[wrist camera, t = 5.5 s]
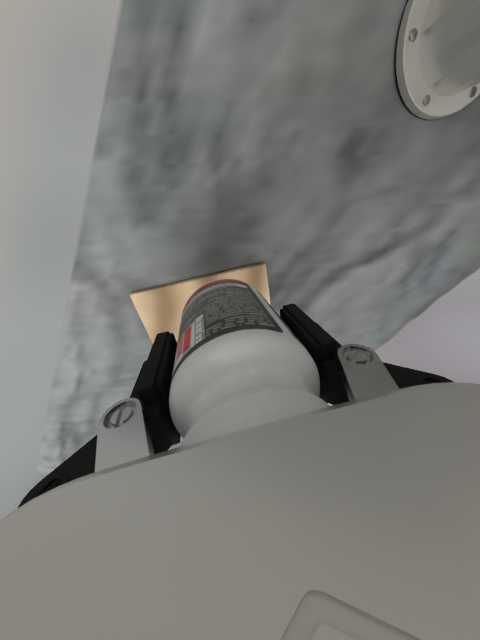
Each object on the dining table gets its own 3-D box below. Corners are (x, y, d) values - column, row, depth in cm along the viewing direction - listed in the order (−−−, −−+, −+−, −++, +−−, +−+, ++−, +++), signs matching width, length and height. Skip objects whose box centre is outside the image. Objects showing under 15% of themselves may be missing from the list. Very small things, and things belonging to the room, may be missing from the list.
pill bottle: (169, 336, 14) (112, 550, 5) (205, 259, 12) (220, 376, 3) (241, 361, 16) (294, 543, 7) (281, 299, 14) (423, 438, 5)
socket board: (263, 262, 27) (268, 266, 25) (276, 362, 36) (280, 371, 34) (131, 292, 26) (125, 298, 24) (177, 388, 35) (175, 399, 33)
